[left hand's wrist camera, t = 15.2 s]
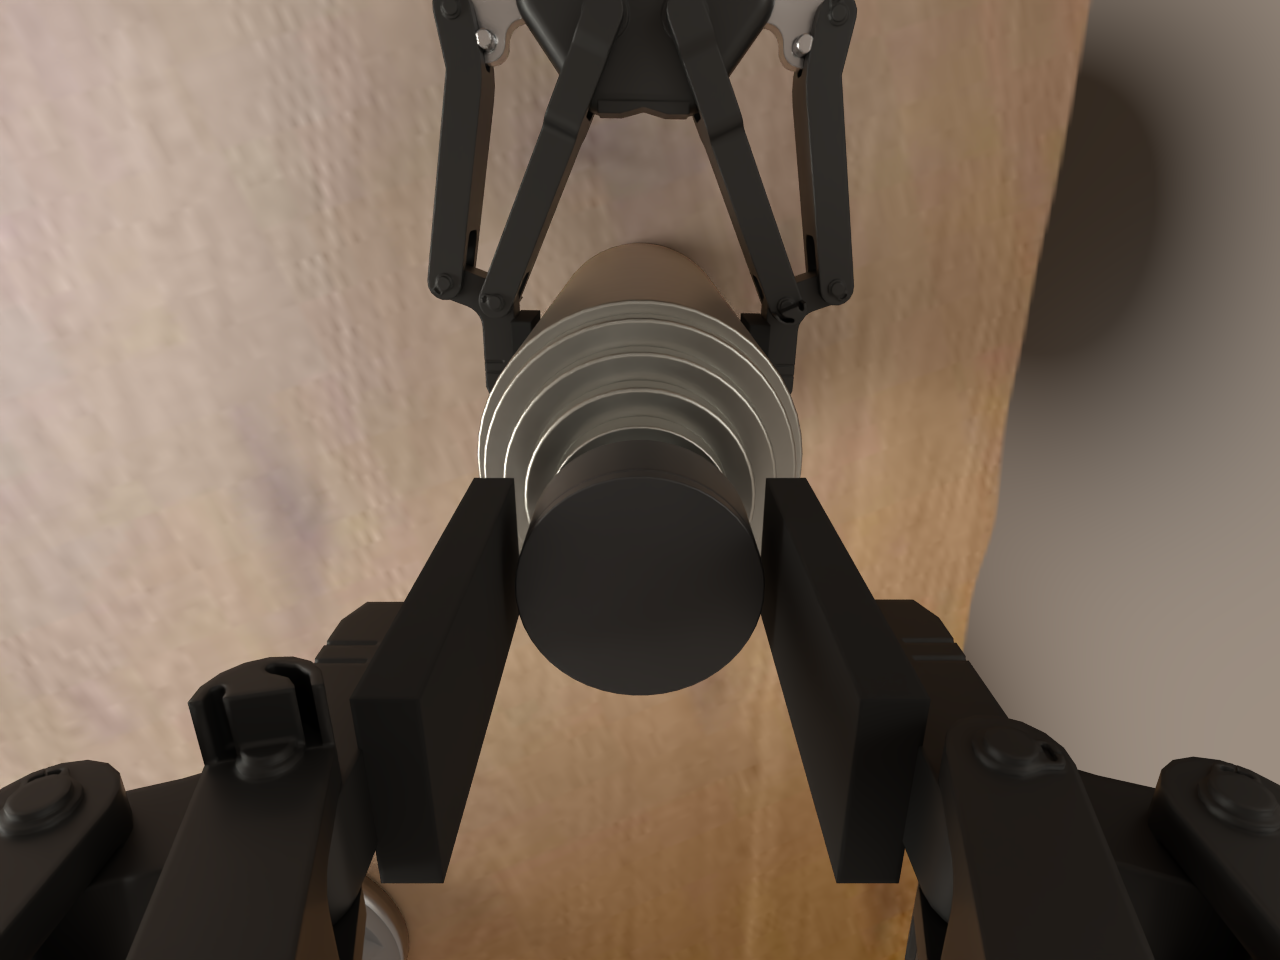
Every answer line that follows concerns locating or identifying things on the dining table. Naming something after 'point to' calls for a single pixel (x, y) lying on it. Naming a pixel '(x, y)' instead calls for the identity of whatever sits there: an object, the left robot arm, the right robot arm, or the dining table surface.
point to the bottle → (639, 381)
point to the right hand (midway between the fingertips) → (638, 475)
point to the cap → (639, 569)
